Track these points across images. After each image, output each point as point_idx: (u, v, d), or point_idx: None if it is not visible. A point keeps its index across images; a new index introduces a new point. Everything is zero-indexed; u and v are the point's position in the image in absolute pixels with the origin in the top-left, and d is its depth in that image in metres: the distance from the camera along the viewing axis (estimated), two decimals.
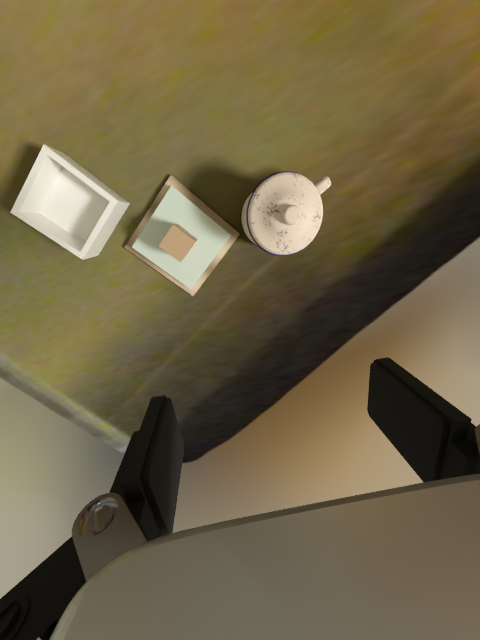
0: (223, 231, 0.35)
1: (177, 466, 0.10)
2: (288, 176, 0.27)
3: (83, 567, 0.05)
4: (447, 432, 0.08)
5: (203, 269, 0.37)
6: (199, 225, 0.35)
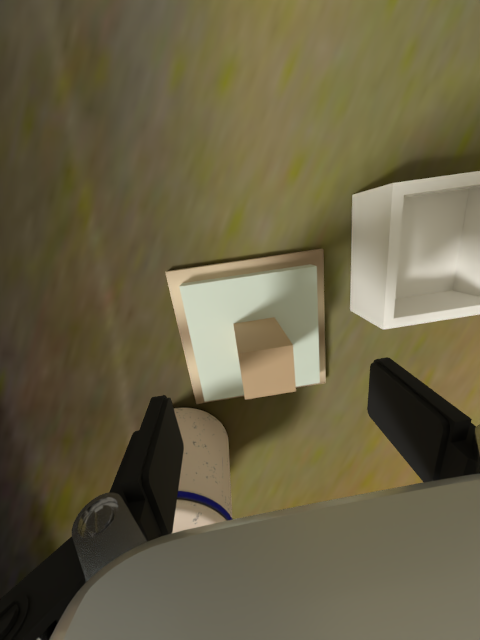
0: (218, 397, 0.21)
1: (177, 466, 0.10)
2: None
3: (83, 567, 0.05)
4: (447, 432, 0.08)
5: (192, 332, 0.19)
6: None
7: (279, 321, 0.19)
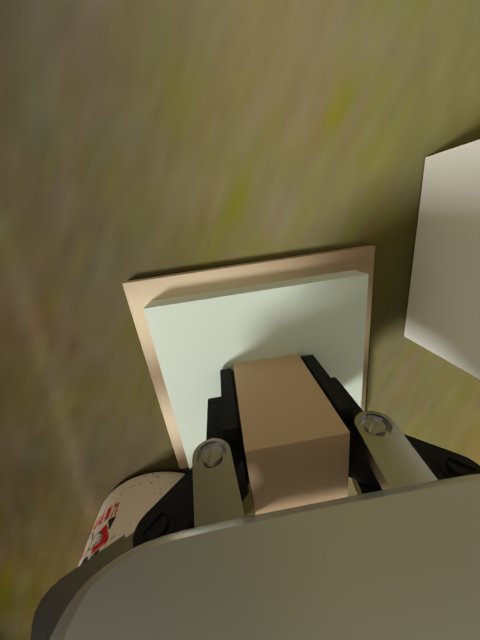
0: None
1: None
2: None
3: (193, 486, 0.07)
4: None
5: (169, 379, 0.12)
6: None
7: None
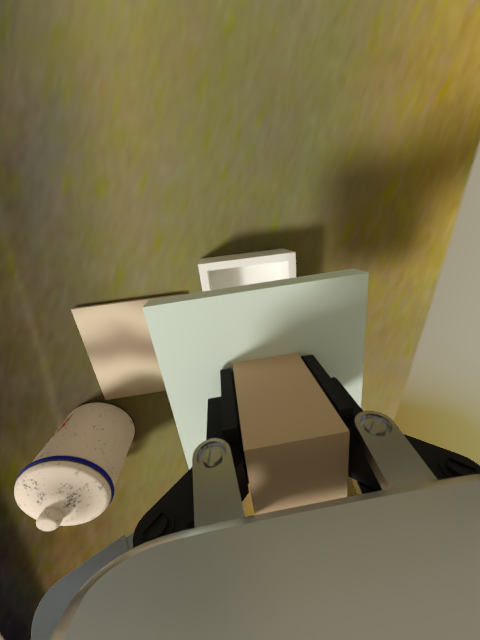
0: None
1: None
2: (97, 514, 0.25)
3: (194, 486, 0.07)
4: None
5: (168, 378, 0.12)
6: None
7: None
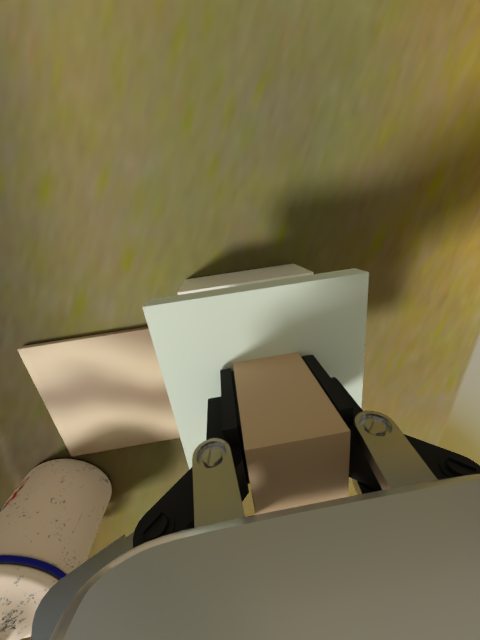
0: None
1: None
2: None
3: (194, 486, 0.07)
4: None
5: (168, 377, 0.12)
6: None
7: None
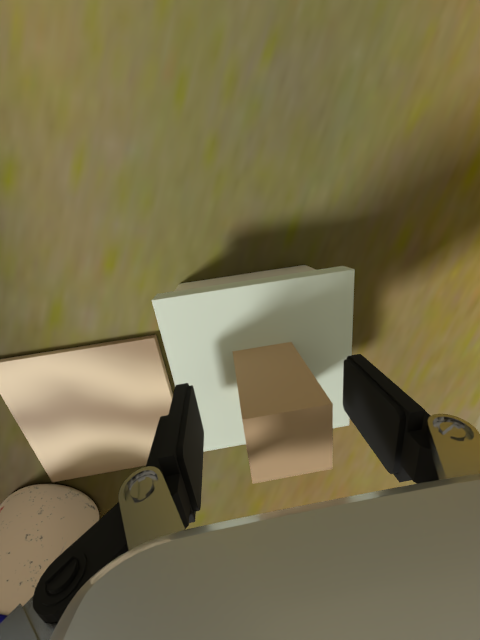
0: (211, 447, 0.15)
1: (200, 449, 0.11)
2: None
3: (125, 528, 0.06)
4: (404, 422, 0.08)
5: (174, 365, 0.13)
6: None
7: (298, 347, 0.13)
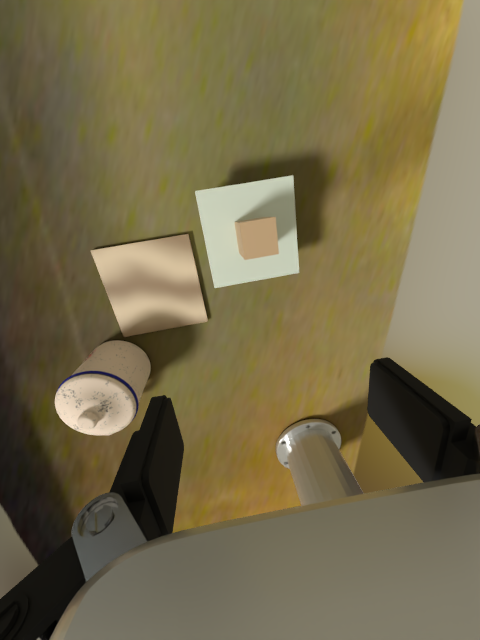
0: (224, 284, 0.28)
1: (177, 466, 0.10)
2: (125, 423, 0.30)
3: (83, 567, 0.05)
4: (447, 432, 0.08)
5: (205, 229, 0.26)
6: (249, 266, 0.28)
7: None
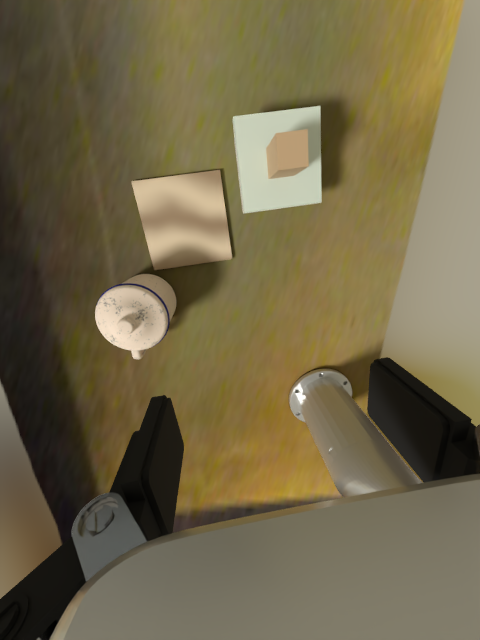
0: (253, 209, 0.31)
1: (177, 466, 0.10)
2: (157, 338, 0.32)
3: (83, 567, 0.05)
4: (447, 432, 0.08)
5: (239, 154, 0.29)
6: (276, 193, 0.31)
7: None
